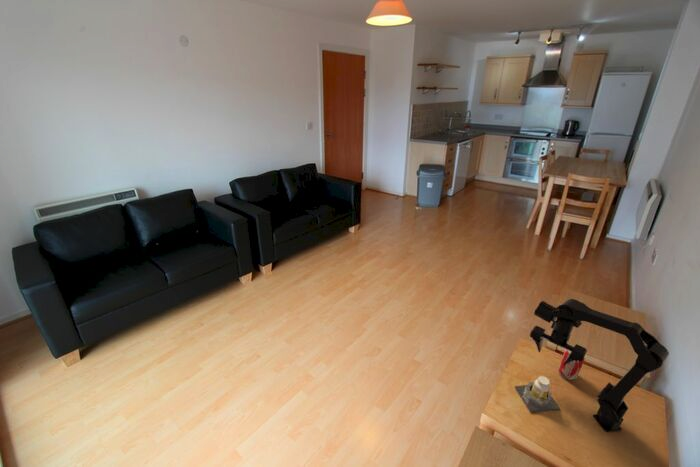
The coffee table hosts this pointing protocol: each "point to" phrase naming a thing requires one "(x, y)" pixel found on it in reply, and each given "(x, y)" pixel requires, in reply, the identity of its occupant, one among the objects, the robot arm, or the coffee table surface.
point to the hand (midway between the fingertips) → (551, 357)
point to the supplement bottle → (541, 387)
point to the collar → (536, 399)
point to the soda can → (569, 367)
